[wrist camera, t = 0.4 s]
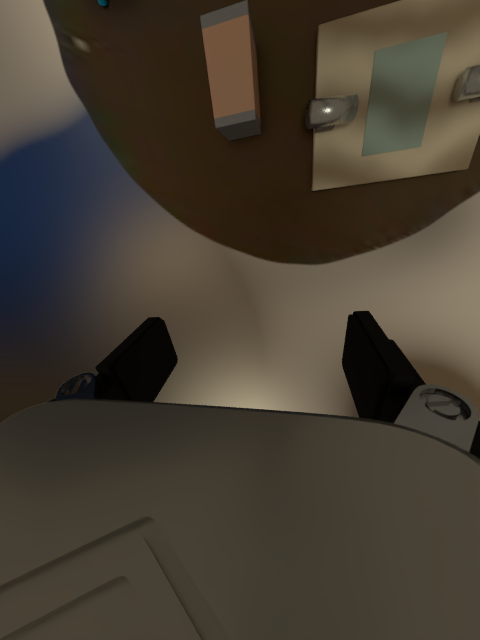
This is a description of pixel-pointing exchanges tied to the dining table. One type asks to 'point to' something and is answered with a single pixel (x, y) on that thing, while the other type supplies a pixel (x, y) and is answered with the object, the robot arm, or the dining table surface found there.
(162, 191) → the dining table surface
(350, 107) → the shaft angled
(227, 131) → the orange and grey block
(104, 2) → the gear
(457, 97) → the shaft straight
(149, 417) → the robot arm
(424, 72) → the base
